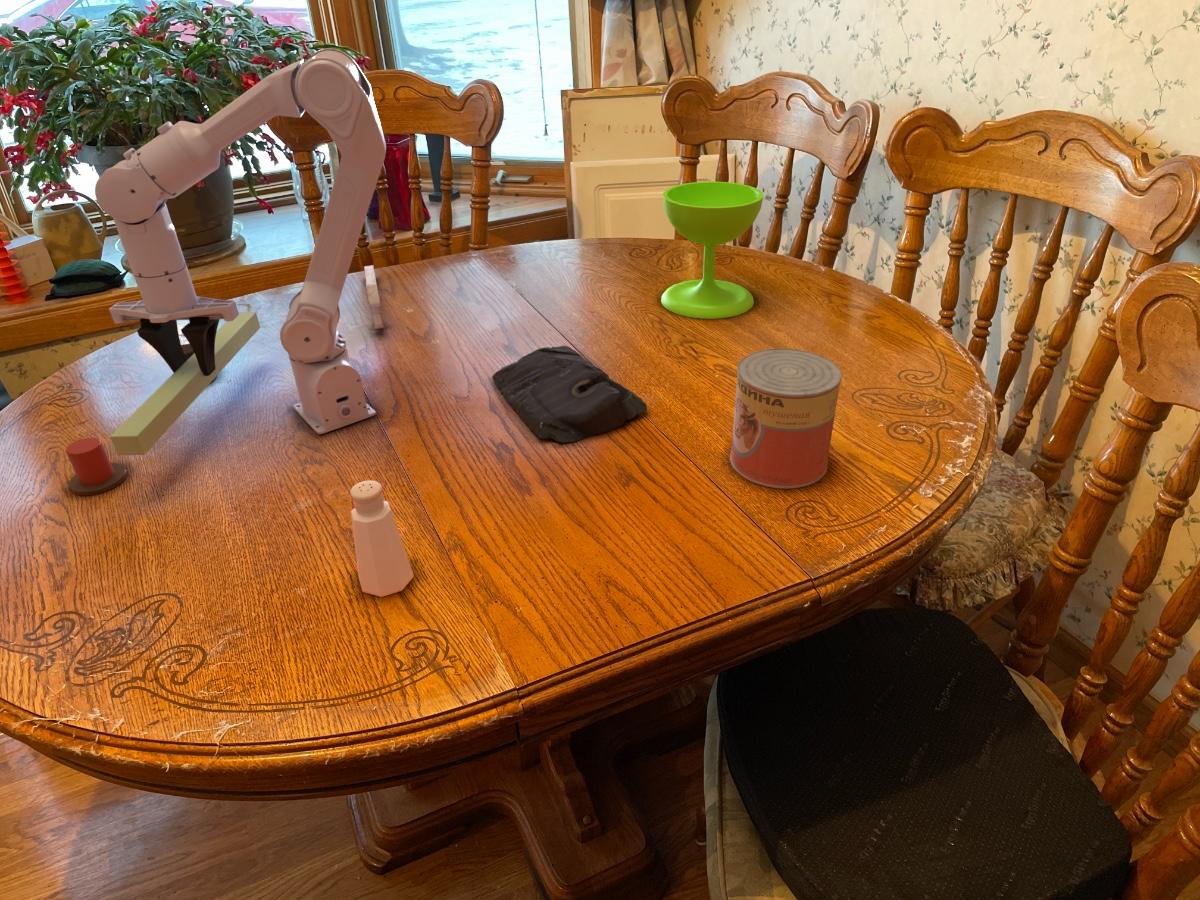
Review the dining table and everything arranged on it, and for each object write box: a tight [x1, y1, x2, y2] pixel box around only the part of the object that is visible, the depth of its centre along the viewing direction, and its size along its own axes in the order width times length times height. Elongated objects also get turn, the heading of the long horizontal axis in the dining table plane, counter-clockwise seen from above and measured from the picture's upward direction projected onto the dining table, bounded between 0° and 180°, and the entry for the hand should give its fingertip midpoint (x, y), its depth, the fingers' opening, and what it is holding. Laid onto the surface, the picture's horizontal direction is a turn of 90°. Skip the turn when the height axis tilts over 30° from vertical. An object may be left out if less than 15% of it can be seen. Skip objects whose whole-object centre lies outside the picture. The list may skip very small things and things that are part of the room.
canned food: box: [729, 348, 843, 490], centre depth 89 cm, size 11×11×12 cm
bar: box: [109, 311, 261, 456], centre depth 99 cm, size 34×3×2 cm, turn 0°
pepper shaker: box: [349, 479, 415, 598], centre depth 74 cm, size 5×5×11 cm
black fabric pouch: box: [491, 345, 648, 445], centre depth 105 cm, size 15×22×5 cm
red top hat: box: [65, 436, 128, 497], centre depth 91 cm, size 6×6×5 cm
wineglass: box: [660, 181, 764, 320], centre depth 129 cm, size 16×16×18 cm
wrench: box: [363, 264, 386, 330], centre depth 134 cm, size 8×2×30 cm
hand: (195, 372), depth 99 cm, fingers closed on bar, 3 cm apart
